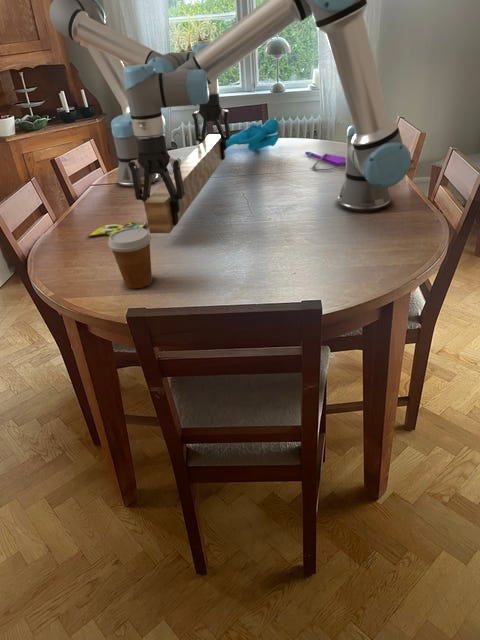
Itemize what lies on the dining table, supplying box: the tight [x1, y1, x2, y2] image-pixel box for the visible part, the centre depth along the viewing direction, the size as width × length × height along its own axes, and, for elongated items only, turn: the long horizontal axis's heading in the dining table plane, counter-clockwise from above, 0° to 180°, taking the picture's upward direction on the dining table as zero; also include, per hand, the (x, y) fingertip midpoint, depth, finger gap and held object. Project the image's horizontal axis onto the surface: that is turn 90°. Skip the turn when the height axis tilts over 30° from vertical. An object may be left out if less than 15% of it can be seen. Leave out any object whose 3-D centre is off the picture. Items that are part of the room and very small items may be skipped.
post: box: [143, 133, 226, 234], centre depth 156 cm, size 75×6×8 cm, turn 170°
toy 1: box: [88, 221, 148, 238], centre depth 142 cm, size 10×1×15 cm
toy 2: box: [226, 118, 280, 153], centre depth 207 cm, size 17×11×30 cm
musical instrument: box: [304, 151, 346, 171], centre depth 185 cm, size 24×2×20 cm
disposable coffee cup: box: [107, 227, 153, 289], centre depth 110 cm, size 10×10×12 cm
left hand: (215, 159), depth 184 cm, fingers closed on post, 6 cm apart
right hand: (165, 223), depth 131 cm, fingers closed on post, 6 cm apart
